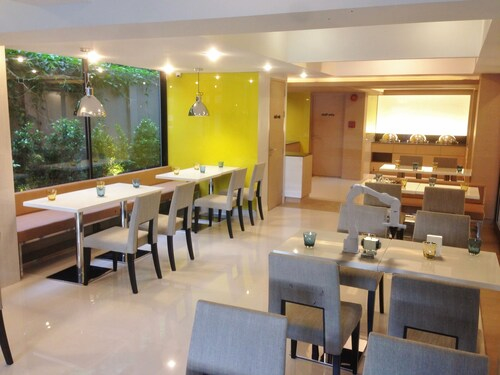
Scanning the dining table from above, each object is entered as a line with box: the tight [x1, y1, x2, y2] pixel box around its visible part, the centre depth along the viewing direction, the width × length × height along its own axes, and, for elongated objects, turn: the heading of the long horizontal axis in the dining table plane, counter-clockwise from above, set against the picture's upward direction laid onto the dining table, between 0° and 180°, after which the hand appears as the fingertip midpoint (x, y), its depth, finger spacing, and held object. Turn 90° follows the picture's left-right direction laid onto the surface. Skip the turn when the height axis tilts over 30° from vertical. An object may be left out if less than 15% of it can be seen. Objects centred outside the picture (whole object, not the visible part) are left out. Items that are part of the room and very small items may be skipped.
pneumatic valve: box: [360, 237, 382, 257], centre depth 282 cm, size 6×12×12 cm, turn 54°
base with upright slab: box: [426, 234, 443, 257], centre depth 287 cm, size 9×9×12 cm
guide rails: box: [360, 249, 377, 259], centre depth 283 cm, size 8×11×2 cm
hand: (393, 238), depth 286 cm, fingers closed
